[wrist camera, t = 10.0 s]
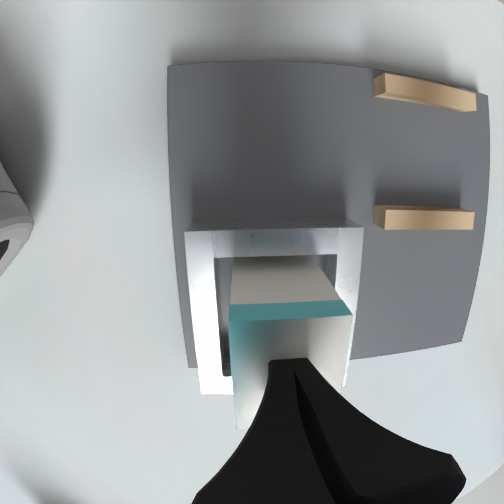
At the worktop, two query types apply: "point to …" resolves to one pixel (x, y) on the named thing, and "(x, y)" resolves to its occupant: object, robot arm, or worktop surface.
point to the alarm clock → (12, 221)
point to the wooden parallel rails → (438, 97)
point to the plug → (282, 325)
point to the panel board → (333, 184)
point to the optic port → (253, 245)
